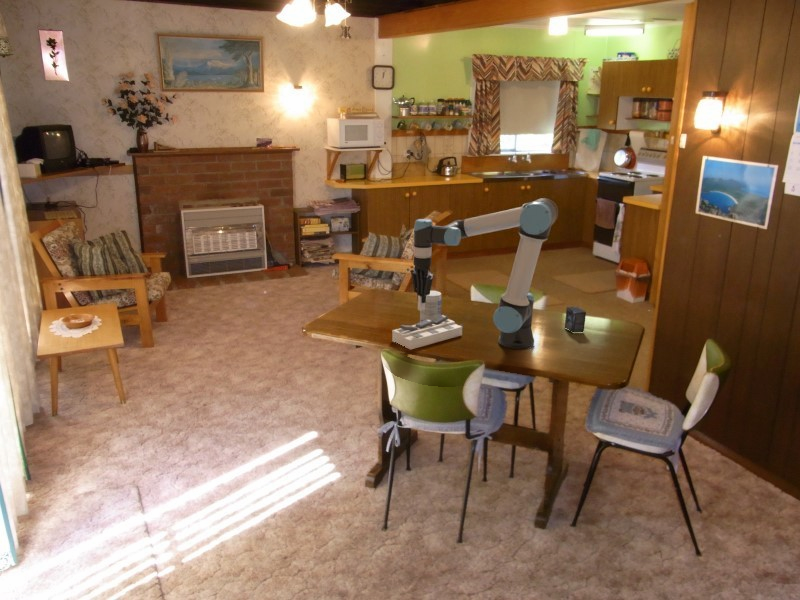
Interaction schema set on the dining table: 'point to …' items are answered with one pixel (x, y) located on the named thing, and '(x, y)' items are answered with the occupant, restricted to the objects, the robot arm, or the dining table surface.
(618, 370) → the dining table surface
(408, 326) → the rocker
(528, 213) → the robot arm
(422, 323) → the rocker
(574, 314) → the box
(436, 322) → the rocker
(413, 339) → the power strip
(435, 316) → the supplement tub
